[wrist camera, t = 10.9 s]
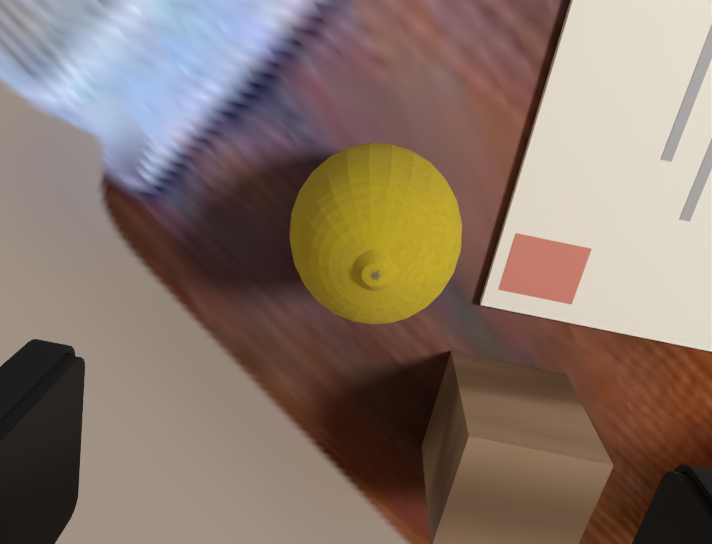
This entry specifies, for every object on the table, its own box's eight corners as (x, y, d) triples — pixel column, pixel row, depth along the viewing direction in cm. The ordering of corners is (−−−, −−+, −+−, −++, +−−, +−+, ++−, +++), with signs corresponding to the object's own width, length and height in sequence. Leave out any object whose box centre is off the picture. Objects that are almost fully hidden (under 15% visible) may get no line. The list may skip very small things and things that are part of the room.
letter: (595, -83, 21) (598, -84, 20) (943, -4, 21) (951, -5, 21) (479, 301, 26) (480, 305, 25) (762, 358, 26) (766, 362, 26)
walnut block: (451, 349, 27) (469, 436, 21) (565, 373, 27) (613, 465, 21) (421, 446, 28) (430, 548, 23) (529, 468, 29) (564, 575, 23)
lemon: (409, 288, 26) (421, 395, 18) (283, 232, 25) (241, 320, 17) (474, 164, 24) (518, 227, 16) (339, 101, 23) (319, 136, 16)
